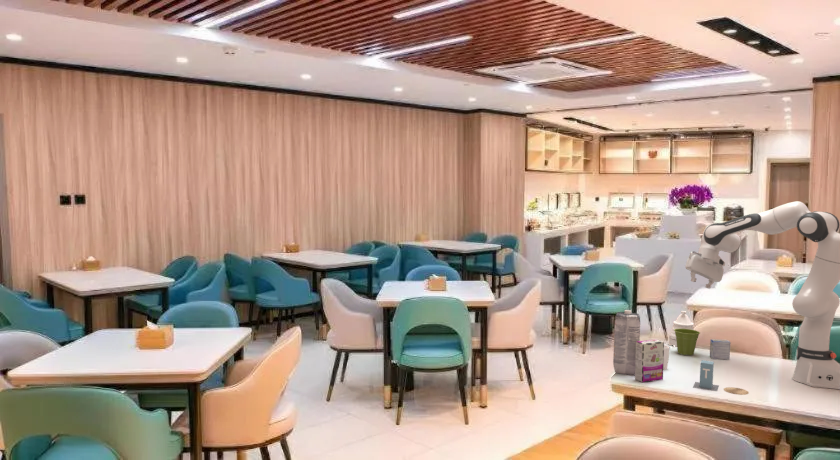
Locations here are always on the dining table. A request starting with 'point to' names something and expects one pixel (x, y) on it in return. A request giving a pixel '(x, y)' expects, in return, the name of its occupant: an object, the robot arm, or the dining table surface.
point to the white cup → (666, 357)
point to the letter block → (706, 374)
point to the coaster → (736, 391)
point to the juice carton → (626, 342)
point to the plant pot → (686, 340)
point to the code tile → (714, 388)
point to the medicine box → (719, 349)
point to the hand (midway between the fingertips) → (700, 284)
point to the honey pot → (680, 327)
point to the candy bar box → (649, 360)
